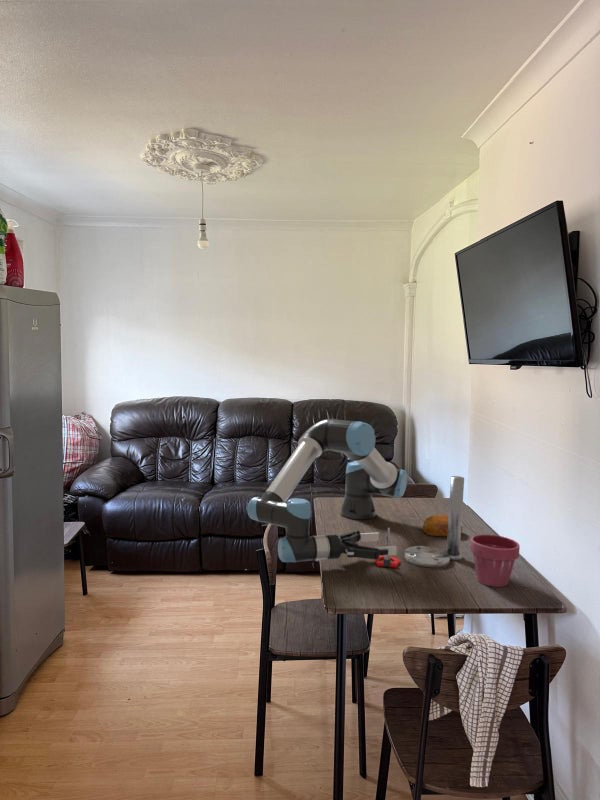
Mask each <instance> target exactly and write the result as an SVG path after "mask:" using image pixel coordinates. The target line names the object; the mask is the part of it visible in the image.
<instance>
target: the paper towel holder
mask: <svg viewBox="0 0 600 800" xmlns="http://www.w3.org/2000/svg"><path fill="white" fill-rule="evenodd" d="M464 485H465V477H464V476H460V475H453V476H451V477H450V486H449V487H450V489H449V505H448V516H449V518H448V535H447V536H446V537H447V538H446V550H443V549H441V548H438V547H434V546H426V545H415V546H414V545H413V546H410V547H407V548H406V549H404V559H405V560H406V562H408V563H410V564H412V565H415V566H418V567H421V568H423V567H424V568H431V569H433V568H436V569H437V568H444V567H447V566H449V564H451V563H450V562H451V561H454V562H455V561H457V562H458V561H462V560H463V553H461V539H462V538H461V536H462V535H461V534H462V532H461V525H462V524H463V523H462V521H463V504H464V503H463V502H464V488H465V486H464Z"/></svg>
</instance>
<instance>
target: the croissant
mask: <svg viewBox="0 0 600 800" xmlns="http://www.w3.org/2000/svg"><path fill="white" fill-rule="evenodd" d="M448 518H449V515H446V514H436V515H430V516H428V517H427V518H425V520H424V522H423V525H422V530H423V532H424V533H425V535H429V536H433V537H435V536H436V537H447V535H448ZM462 532H463V525H462V524H461V533H462Z"/></svg>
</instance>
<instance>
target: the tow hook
mask: <svg viewBox="0 0 600 800" xmlns="http://www.w3.org/2000/svg"><path fill="white" fill-rule="evenodd" d="M385 543H386V546H391V527H387V533H386V541H385ZM386 546H385V547H386ZM382 560H383V561H382ZM373 561H374V562H375V564H376V566H377V567H383V568H393V569H397V568H398V565H400V562H401V561H400V559H399V558H398V557H395V556H392V555H388V556H379V559H378V560H376V559H373Z"/></svg>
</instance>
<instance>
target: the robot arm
mask: <svg viewBox="0 0 600 800" xmlns="http://www.w3.org/2000/svg"><path fill="white" fill-rule="evenodd" d="M297 444H298V446H296V448H295V450H294V451H293V452H292V454H291V455H290V457H289V458H288V459H287V460H286V462H285V464H284V465H283V467H282V468H281V469H280V471H279V473H278V474H277V475H276V477H275V478H274V479H273V480H272V482H271V483H270V485H269V487H268V488H267V489H266V490H265V492H264V493H263V494H262V496H261V497H260V496H255V497H252V498H250V500H249V502H248V504H247V508H246V510H247V515H248V517H249V518H250V519H252V520H253V521H256V522H259V523H263V524H264V523H265V524H267V525H268V524H269V525H273V526H277V527H281V528H285V536H283V537H281V538H279V539H278V543H277V554H278V558H279V560H280V561H281V562H283V563H297V562H299V563H300V562H310V561H315V562H319V561H321V560H324V561H325V560H336V559H337V560H338V559H339V558H341V555H342V554H345V555H346V557H347V558H357V559H358V558H359V559H367V560H368V559H370V560H374V559H376V560H378V559H379V556H388V555H390V556H397V550H398V549H397V545H390V546H377V547H376V548H375V547H370V546H365V545H360V544H359V543H358V542H360V543H364V542H378V541H379V539H380V532H379V531H378V532H364V533H361V532H360V530H356V531H350V532H346V533H343V534H339V535H338V534H327V535H325V534H322V535H311V536H310V531H311V529H310V528H311V516H312V515H311V514H312V513H311V503H310V501H309V500H307V499H305V498H290V497H291V495H292V493H293V492H294V491H295V489H296V487H297V486H298V485H299V483H300V482H301V480H302V479H303V477H304V475H305V474H306V472H307V471H308V469H309V468H310V466H311V465H312V464H313V463H314V461H315V459H316V458H319V457H320V456H321V455H322V454H323V452H326V451H330V452H337V453H342V454H344V455H345V457H347V458H348V459H349V460H351V461H350V462H349V463H347V465H346V469H345V488H344V489H345V491H344V499H343V501H342V503H341V506H340V509H339V510H340V511H339V514H340V516H342V517H345V518H347V519H352V520H369V519H374V518H375V517H376V515H377V513H376V507H375V504H374V499H373V495H374V494H375V495H379V496H384V497H385V496H386V497H391V498H394V499H395V498H397V499H399V498H402V497H403V496H404V494H405V491H406V488H407V485H408V473H407V471H406V470H404V469H403V468H401V469H399V468H397V467H396V466H395V465H394V464H393V463H391V462H389V461H386V460H385V458H384V457H383V456H382V454H380V452H379V451H378V450H377V448H375V446H376V435H375V430H374V428H373V426H372V425H370V424H369V423H367V422H364V421H359V420H358V421H357V420H356V421H354V420H353V421H352V420H343V419H335V418H326V419H323V420H320V421H318V422H316V423H315V424H312V426H310V427H309V428H308V429H306V431H305V432H304V433H303V434H302V435H301V436H300V438H299V439H298V443H297ZM289 498H290V499H289Z"/></svg>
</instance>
